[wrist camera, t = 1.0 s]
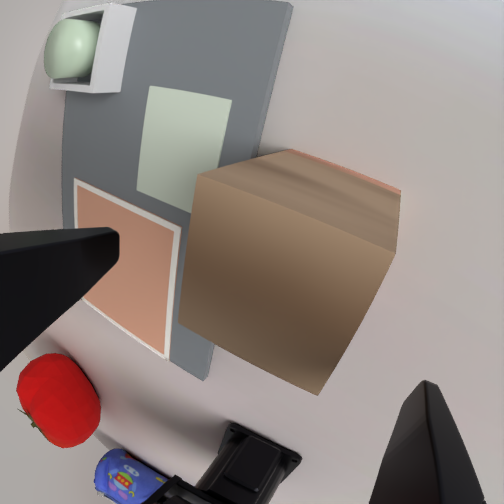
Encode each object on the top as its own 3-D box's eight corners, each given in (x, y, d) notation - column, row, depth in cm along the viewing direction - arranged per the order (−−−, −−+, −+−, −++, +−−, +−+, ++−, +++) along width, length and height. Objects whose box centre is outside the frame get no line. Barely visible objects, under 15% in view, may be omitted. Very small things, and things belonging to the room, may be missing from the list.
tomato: (87, 350, 31) (19, 401, 22) (129, 428, 35) (79, 477, 26) (45, 332, 36) (-10, 369, 28) (82, 401, 40) (38, 439, 32)
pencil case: (127, 460, 44) (94, 494, 36) (113, 435, 40) (74, 472, 33) (241, 521, 35) (210, 566, 27) (240, 505, 32) (203, 558, 24)
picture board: (207, 376, 22) (187, 399, 20) (74, 285, 26) (53, 297, 24) (293, 6, 11) (269, -14, 9) (86, 12, 15) (56, 10, 13)
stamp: (359, 288, 15) (317, 395, 9) (265, 246, 16) (177, 322, 10) (400, 190, 12) (395, 253, 6) (291, 148, 14) (197, 173, 8)
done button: (98, 78, 14) (69, 79, 13) (66, 76, 16) (40, 78, 14) (109, 18, 13) (81, 15, 11) (75, 24, 14) (49, 22, 12)
